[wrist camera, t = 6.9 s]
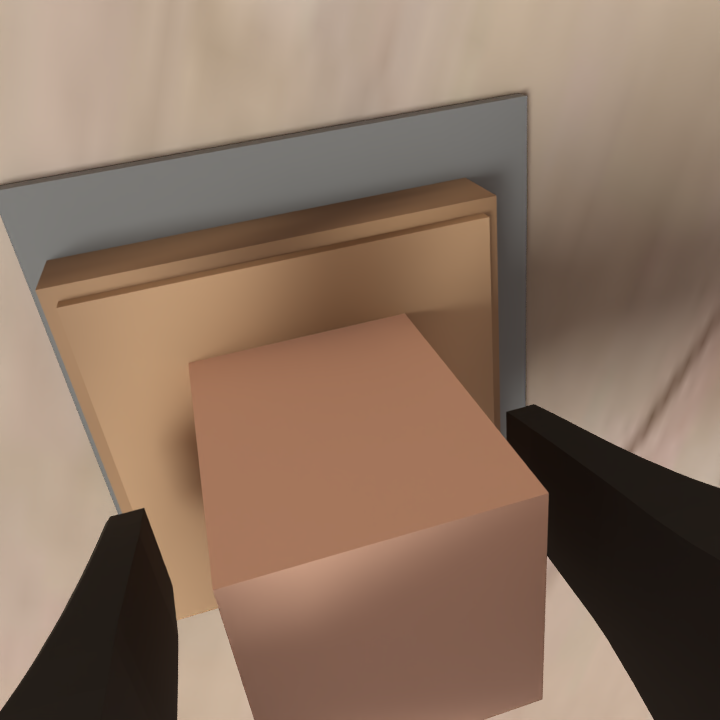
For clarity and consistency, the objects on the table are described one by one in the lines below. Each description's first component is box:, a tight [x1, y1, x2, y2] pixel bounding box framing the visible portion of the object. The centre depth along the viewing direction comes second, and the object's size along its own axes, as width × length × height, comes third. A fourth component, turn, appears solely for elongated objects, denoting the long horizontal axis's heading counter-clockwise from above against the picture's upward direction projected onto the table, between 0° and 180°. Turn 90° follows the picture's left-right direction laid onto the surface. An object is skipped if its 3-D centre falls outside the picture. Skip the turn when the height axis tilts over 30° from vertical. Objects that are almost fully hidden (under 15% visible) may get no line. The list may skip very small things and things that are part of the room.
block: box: [188, 313, 549, 720], centre depth 12 cm, size 4×4×6 cm
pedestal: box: [35, 178, 501, 620], centre depth 16 cm, size 9×9×2 cm
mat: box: [0, 93, 527, 515], centre depth 17 cm, size 11×12×1 cm
